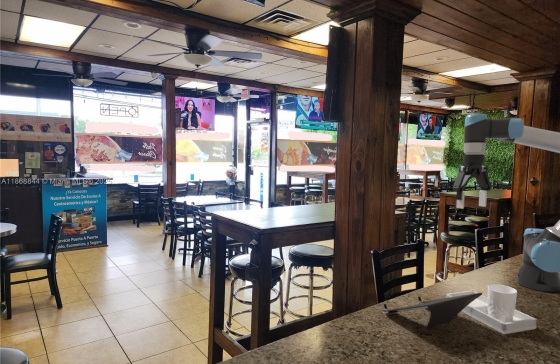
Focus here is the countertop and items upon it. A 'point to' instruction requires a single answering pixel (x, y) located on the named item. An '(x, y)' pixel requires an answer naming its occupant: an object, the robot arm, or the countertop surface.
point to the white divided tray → (480, 313)
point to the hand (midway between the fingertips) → (471, 207)
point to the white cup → (501, 302)
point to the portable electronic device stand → (440, 308)
